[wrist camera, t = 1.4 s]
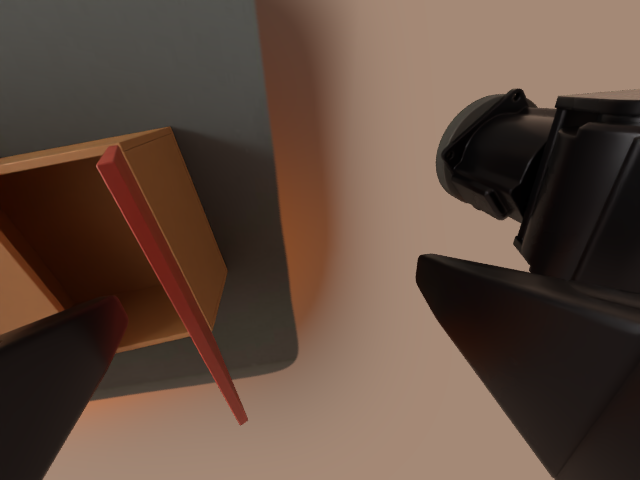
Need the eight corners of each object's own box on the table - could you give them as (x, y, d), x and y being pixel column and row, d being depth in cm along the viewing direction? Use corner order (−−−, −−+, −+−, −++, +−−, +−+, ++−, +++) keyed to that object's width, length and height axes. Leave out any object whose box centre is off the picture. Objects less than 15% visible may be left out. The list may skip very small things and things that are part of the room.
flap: (107, 146, 11) (117, 144, 12) (207, 340, 17) (213, 337, 17) (95, 165, 7) (114, 160, 7) (240, 426, 12) (248, 420, 12)
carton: (170, 126, 18) (109, 145, 11) (228, 271, 24) (210, 341, 17) (-33, 164, 17) (-225, 208, 11) (76, 304, 23) (-5, 390, 16)
